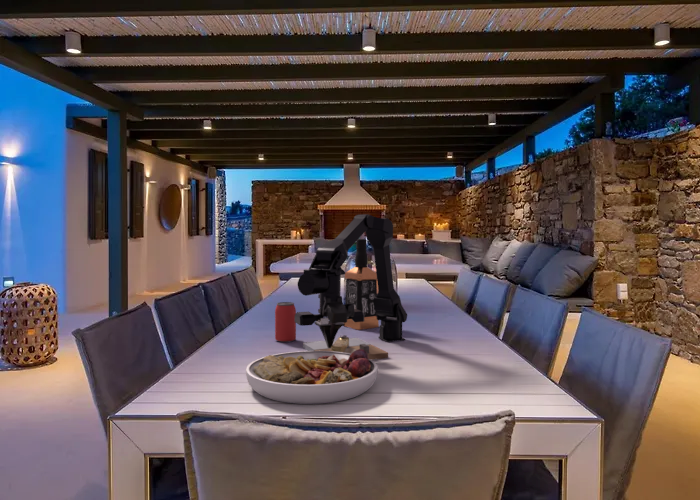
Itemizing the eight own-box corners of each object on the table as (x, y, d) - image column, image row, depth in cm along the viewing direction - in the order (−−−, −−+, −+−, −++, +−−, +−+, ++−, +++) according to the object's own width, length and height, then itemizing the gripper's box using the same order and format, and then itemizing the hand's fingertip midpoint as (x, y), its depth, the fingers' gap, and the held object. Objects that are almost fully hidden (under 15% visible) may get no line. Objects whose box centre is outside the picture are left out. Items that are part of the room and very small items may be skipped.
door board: (371, 349, 159) (371, 338, 159) (388, 357, 149) (388, 345, 149) (314, 355, 152) (314, 343, 152) (327, 364, 142) (327, 351, 142)
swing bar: (339, 344, 158) (339, 334, 157) (349, 344, 157) (349, 334, 157) (330, 354, 145) (330, 344, 145) (342, 354, 145) (342, 344, 144)
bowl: (265, 417, 104) (264, 378, 103) (234, 377, 131) (234, 345, 131) (400, 398, 116) (401, 362, 115) (346, 364, 143) (346, 335, 143)
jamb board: (357, 342, 169) (357, 337, 169) (373, 350, 158) (373, 345, 158) (303, 347, 162) (302, 341, 162) (316, 356, 151) (316, 350, 151)
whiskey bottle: (380, 327, 194) (380, 239, 192) (358, 330, 188) (358, 239, 187) (363, 322, 202) (363, 238, 201) (341, 325, 197) (342, 238, 195)
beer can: (292, 343, 168) (292, 305, 167) (272, 342, 169) (272, 304, 169) (298, 338, 174) (298, 302, 174) (279, 337, 176) (279, 301, 175)
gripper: (306, 297, 136) (306, 357, 137) (373, 294, 143) (372, 351, 144) (294, 291, 146) (293, 348, 147) (356, 289, 153) (356, 342, 154)
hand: (329, 347), depth 148 cm, fingers closed
